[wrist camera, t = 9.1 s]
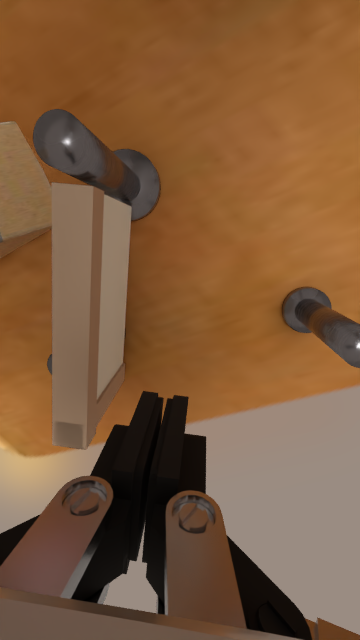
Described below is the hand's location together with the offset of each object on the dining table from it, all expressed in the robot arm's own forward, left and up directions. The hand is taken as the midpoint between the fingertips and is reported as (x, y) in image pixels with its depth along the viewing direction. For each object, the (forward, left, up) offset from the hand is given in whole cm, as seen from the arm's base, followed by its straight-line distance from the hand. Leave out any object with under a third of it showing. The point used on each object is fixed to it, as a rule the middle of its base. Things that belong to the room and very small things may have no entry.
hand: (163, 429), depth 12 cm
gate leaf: (-6, -1, -15) cm, 16 cm away
